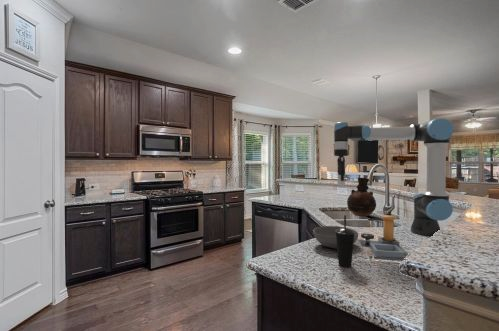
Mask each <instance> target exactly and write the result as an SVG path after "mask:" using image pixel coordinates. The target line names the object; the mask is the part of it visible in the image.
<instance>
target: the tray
mask: <svg viewBox="0 0 499 331" xmlns="http://www.w3.org/2000/svg"><path fill="white" fill-rule="evenodd" d="M369 248H370V250H371V251H372V253H373V255H374V256H373V258H374V259H375V260H380V261H381V260H382V261H383V260H384V261H395V262H397V261H399V262H403V261H402V260H403V259H405V251H403V249H400V248H399V247H398V246H397V245H389V244H372V243H370V247H369Z"/></svg>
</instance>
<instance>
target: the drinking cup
mask: <svg viewBox="0 0 499 331" xmlns="http://www.w3.org/2000/svg"><path fill="white" fill-rule="evenodd" d="M343 227H344V228H340V229H337V230H335V232H336V240H337V249H336V251H337V260H338V266H339V267H342V268H351V267H352V264H353V263H352V261H353V252H354V244H355V243H354V234H355V231H356V230H355V231H353V230H354V229H353V230H351V229H352V228H349V227H347V215H343ZM348 228H349V229H348Z"/></svg>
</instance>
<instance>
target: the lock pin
mask: <svg viewBox="0 0 499 331" xmlns="http://www.w3.org/2000/svg"><path fill="white" fill-rule="evenodd" d="M381 219H382V220H383V222H382V223H383V226H382V228H383V234H382V235H383V236H382V237H383V241H394V238H395V237H394V232H395V231H394V226H395V225H394V224H395V223H394V221H395V220H396V217H395V216H394V215H387V214H386V215H385V214H384V215H382V216H381Z"/></svg>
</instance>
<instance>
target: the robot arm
mask: <svg viewBox="0 0 499 331" xmlns="http://www.w3.org/2000/svg"><path fill="white" fill-rule="evenodd" d="M454 128H455V127H454V125H453V123H452V122H451V121H450V120H448V119H447V118H443V117H439V118H433V119H431V120H429V121H426V122H421V123H418V124H410V126H390V127H388V126H387V127H382V126H381V127H371V126H370V125H367V124H363V125H349V123H348V122H347V121H340V122H339V121H338V122H336V123H334V130H333V134H334V137H333V138H334V139H333V140H334V143H333V146H334V147H333V148H334V151H333V153H334V157H337V160H336V162H337V185H338V186H339V188H345V187H346V186H345V184H346V183H345V182H346V181H345V180H346V159H345V157H347V156H349V139H350V140H351V141H353V142H356V141H384V140H385V141H387V140H388V141H389V140H391V141H392V140H397V141H398V140H410V141H411V142H423V145H424V146H425V147H426V191H424V192H423V193H415V194H414V198H413V221H412V222H411V225H410V232H411V233H412V234H413V233H414V234H416V235H422V236H423V235H424V236H429V237H430V236H432V235H433V234H434V233H435V232H437V231H438V230H440V229H441V227H440V224H439V221H445V220H447V219H449V218H450V217H451V216H452V215H453V212H454V209H453V205H452V203H451V202H450V194H448V193H447V192H446V191H447V190H446V187H447V186H446V185H447V184H446V181H447V180H446V178H447V176H446V175H447V147H448V146H449V145H450V141H451V140H450V139H451V137H452V136H453V133H454V130H455V129H454Z"/></svg>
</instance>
